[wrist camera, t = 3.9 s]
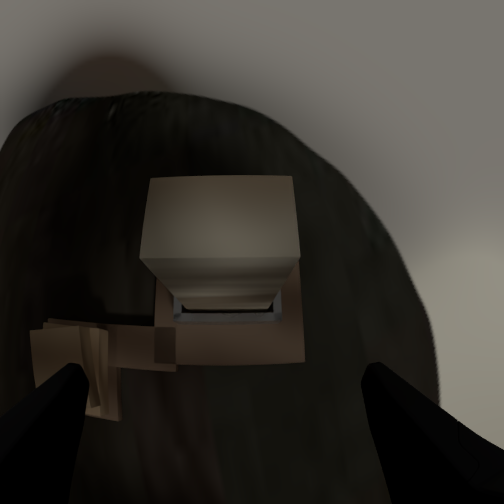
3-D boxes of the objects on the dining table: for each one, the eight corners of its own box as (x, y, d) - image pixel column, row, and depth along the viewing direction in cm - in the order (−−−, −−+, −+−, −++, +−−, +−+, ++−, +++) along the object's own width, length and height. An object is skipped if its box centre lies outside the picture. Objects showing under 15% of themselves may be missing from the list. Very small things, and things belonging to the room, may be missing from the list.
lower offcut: (109, 413, 16) (100, 416, 15) (53, 401, 16) (43, 402, 14) (108, 331, 18) (99, 328, 17) (54, 325, 18) (43, 322, 16)
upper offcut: (101, 405, 15) (91, 408, 13) (51, 404, 14) (39, 405, 13) (89, 328, 17) (78, 325, 15) (41, 333, 16) (29, 330, 15)
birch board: (265, 312, 19) (300, 256, 9) (190, 312, 19) (139, 258, 9) (263, 269, 20) (291, 176, 10) (191, 270, 20) (150, 178, 10)
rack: (304, 422, 17) (313, 431, 15) (53, 404, 16) (34, 407, 14) (293, 228, 22) (299, 212, 20) (65, 232, 21) (51, 219, 19)
